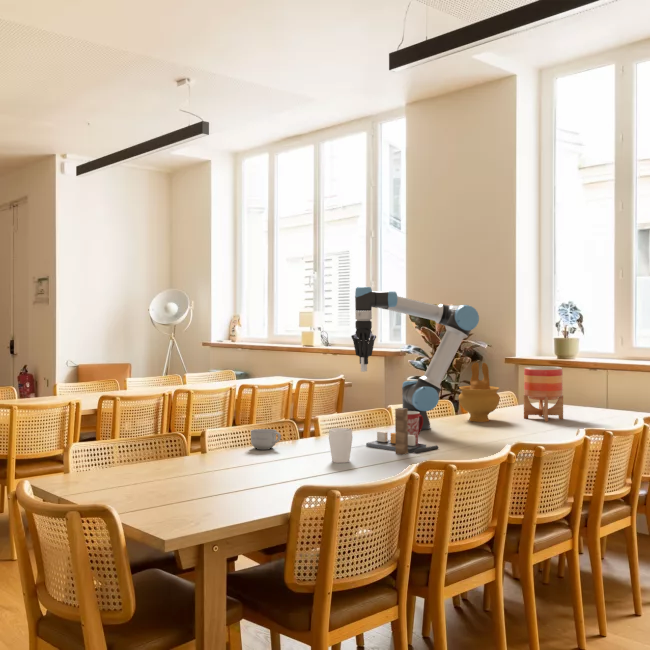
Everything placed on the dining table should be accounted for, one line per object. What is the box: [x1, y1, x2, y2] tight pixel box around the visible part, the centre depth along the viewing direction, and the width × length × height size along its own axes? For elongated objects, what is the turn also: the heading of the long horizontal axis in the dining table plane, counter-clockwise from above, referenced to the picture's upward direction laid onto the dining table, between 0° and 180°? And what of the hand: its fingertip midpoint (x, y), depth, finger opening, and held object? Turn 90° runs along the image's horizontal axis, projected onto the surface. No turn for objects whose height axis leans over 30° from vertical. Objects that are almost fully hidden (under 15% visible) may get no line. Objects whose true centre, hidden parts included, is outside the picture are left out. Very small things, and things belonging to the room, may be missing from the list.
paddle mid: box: [390, 432, 396, 444], centre depth 299 cm, size 2×4×4 cm, turn 50°
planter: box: [523, 365, 564, 423], centre depth 375 cm, size 20×20×27 cm
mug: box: [408, 411, 423, 444], centre depth 309 cm, size 13×9×14 cm
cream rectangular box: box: [408, 435, 415, 446], centre depth 295 cm, size 2×4×4 cm, turn 50°
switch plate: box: [365, 439, 427, 454], centre depth 299 cm, size 12×22×2 cm, turn 50°
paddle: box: [376, 430, 389, 442], centre depth 304 cm, size 2×4×4 cm, turn 50°
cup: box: [328, 427, 353, 464], centre depth 273 cm, size 9×9×12 cm
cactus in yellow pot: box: [458, 362, 501, 423], centre depth 371 cm, size 21×21×30 cm
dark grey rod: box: [413, 444, 439, 454], centre depth 291 cm, size 14×1×1 cm, turn 132°
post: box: [394, 407, 408, 456], centre depth 286 cm, size 4×4×18 cm
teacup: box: [250, 428, 282, 450], centre depth 298 cm, size 14×11×8 cm
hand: (363, 371), depth 330 cm, fingers closed
